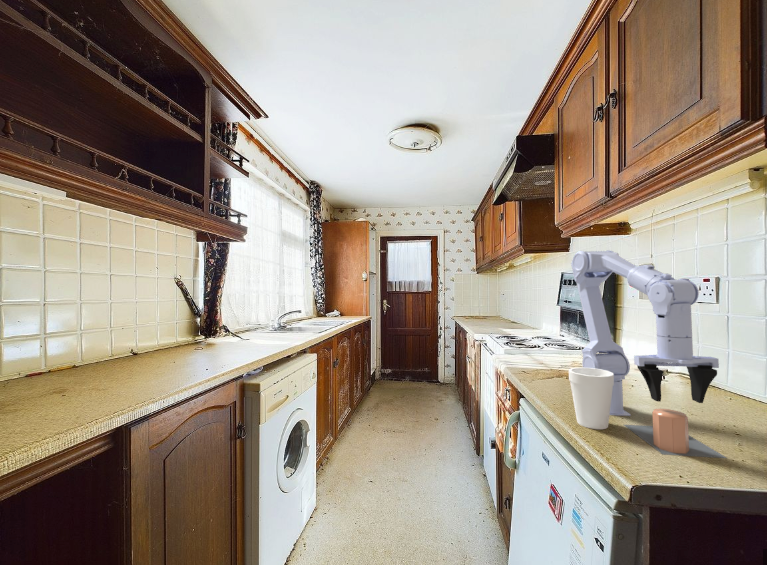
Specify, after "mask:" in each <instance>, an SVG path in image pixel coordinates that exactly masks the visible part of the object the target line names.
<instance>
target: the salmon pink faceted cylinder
mask: <svg viewBox="0 0 767 565" xmlns="http://www.w3.org/2000/svg"><path fill="white" fill-rule="evenodd" d="M652 426H653V439H654V445H655V446H657V447H658V448H660V449H662V450H665V451H669V452H672V453H683V454H686V453H687V452H688V451H689V436H690V435H689V417H688V416H687V414H685V413H684V412H681V411H678V410H674V409H669V408H654V409H653V411H652Z"/></svg>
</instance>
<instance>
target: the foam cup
mask: <svg viewBox="0 0 767 565" xmlns="http://www.w3.org/2000/svg"><path fill="white" fill-rule="evenodd" d="M568 381H569V383H570V389H571V394H572V399H573V401H572V402H573V407H574V411H575V417H576V422H577V424H578V425H579V426H581V427H584V428H588V429H592V430H605V429H607V428H609V424H610V423H609V422H610V415H609V414H610V406H611V397H612V389H613V385H614V375H613V373H612V372H609V371H606V370H602V369H595V368H583V367H572V368H569V369H568Z"/></svg>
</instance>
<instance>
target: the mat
mask: <svg viewBox="0 0 767 565" xmlns="http://www.w3.org/2000/svg"><path fill="white" fill-rule="evenodd" d="M623 426H624V427H625V428H627V429H628V430H629V431H630V432H632V433H633V434H635V435H636V436H638V437H639V438H640V439H641V440H642V441H644V442H645V443H647V444H648V445H649V446H651V447H652V448H654V449H655V450H656V451H658V452H659V453H660V454H661V455H666V456H681V457H682V456H683V457H701V458H714V459H715V458H716V459H718V458H719V459H728V457H726V456H725V455H723V454H721V453H719V452H718V451H716V450H714V449H713V448H711V447H710V446H708V445H706V444H705V443H703V442H702V441H699V440H698V439H696V438H694V437H692V436H691V435H689V451H688V452H687V453H686V454H683V453H672V452H669V451H665V450H662V449H660V448H658V447H657V446H655V445H654V439H653V425H640V424H639V425H637V424H623Z"/></svg>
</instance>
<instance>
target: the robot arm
mask: <svg viewBox="0 0 767 565" xmlns="http://www.w3.org/2000/svg"><path fill="white" fill-rule="evenodd" d="M570 264H571V269H572V274H573V279H574V281H575V283H576V285H577V291H578V295H579V299H580V305H581V309H582V314H583V317H584V321H585V326H586V330H587V335H588V339H589V343H588V344H587V345H586V346H585V347H584V348H583V349H582V350H581V352H582V353H581V354H582V363H581V364H582V368H595V369H602V370H606V371H609V372H612V373H613V375H614V385H613V389H612V397H611V406H610V414H609V416H627V417H628V416H629V417H631V416H632V415H631V413H629V412H628V411H626V410H624V391H623V380H626V376H627V375H629V373H630V370H631V364H630V361H629V359H628V357H627V356H626V355H625V352H624V347H622V346H621V345H619V344H618V343H616V342H615V341H614V340H613V338H612V334H611V330H610V326H609V321H608V317H607V314H606V310H605V305H604V301H603V298H602V294H601V289H600V285H601V284H602V283H604V282H605V281H607V279H608V278H609V277H610V276H611V275H612V273H614V274H616V275H619V276H620V277H623V278H625V279H626V280H627V284H628V285H629V286H630V287H632V288H633V289H636V290H637V291H639V292H641V294H642V293H643V294H644V295H646V296H647V299H648V301H649V303H651V305H652V312H653V314H655V324H656V349H657V354H648V355H647V354H645V355H634V356H633V357H634V358H633V361H634V366H635V365H636V366H637V369H638V370H639V372H640V373H641V376H642V377H643V379H644V381H645V383H646V385H647V388H648V391H649V393H650V398H651V399H652V400H653V401H655V402H658V403H659V402H661V400H662V379H663V376H664V371H663V369H662V370H661V369H659V367H685V368H686V369H687V372H688V376H689V381H690V395H691V400H692V401H694V402H696V403H699V404H703V403H704V401H705V397H706V393H707V391H708V388H709V386H710V384H711V383H712V382H713V381H714V379H715V378H716V377H717V375H718V370H717V369H719V367H720V366H719V365H720V363H719V362H720V361H719V358H718V357H713V356H702V355H701V356H699V355H694V350H693V349H694V348H693V347H694V346H693V323H692V322H693V321H692V306H693V305H694V304H695V303H696V302H697V301H698V298H699V289H698V287H697V285H696V283H694V282H693V281H691V279H689V278H679V279H675V278H674V277H672V274H670V273H664V272H661V271H659V270H658V269H655V265H652V264H643V265H642V264H641V265H638V266H636V265H635V264H633V263H632V262H630V261H629V260H626V259H625V258H623V257H621V256H620V254H619V253H618V252H615V251H613V250H610V249H609V250H598V251H597V250H591V251H587V250H585V251H584V250H579V251H577V252H575V254H574V255H573V258H572V259H571V263H570Z"/></svg>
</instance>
